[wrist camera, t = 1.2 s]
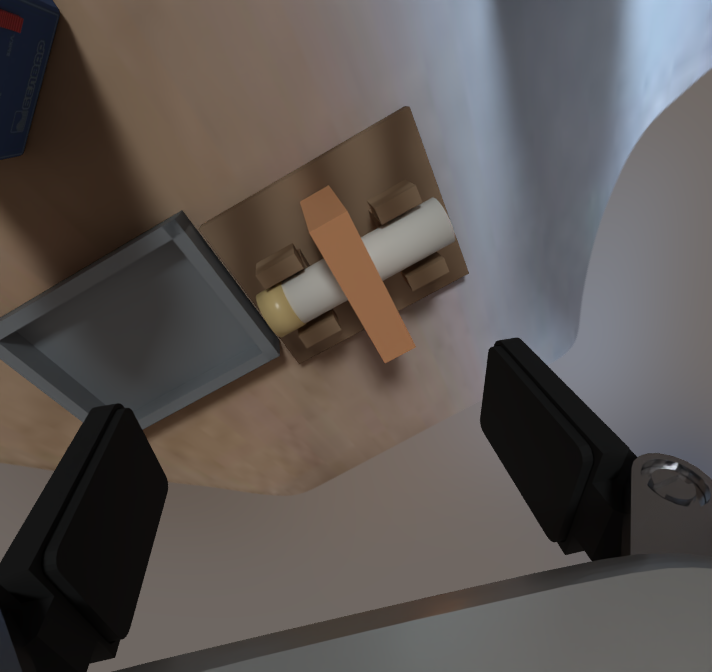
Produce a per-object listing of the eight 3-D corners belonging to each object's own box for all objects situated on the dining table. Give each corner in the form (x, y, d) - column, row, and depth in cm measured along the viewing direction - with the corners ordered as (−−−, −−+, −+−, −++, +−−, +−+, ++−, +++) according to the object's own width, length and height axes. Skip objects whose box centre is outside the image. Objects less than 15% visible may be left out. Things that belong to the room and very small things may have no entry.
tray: (182, 210, 29) (174, 219, 26) (279, 339, 35) (279, 355, 33) (-6, 321, 30) (-28, 338, 28) (122, 425, 37) (113, 445, 35)
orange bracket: (328, 185, 28) (347, 210, 22) (386, 297, 34) (415, 347, 27) (299, 201, 29) (309, 232, 22) (361, 311, 34) (384, 363, 27)
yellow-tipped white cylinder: (425, 193, 28) (443, 200, 25) (442, 236, 30) (461, 248, 27) (257, 287, 29) (254, 305, 26) (283, 324, 31) (283, 345, 28)
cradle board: (404, 106, 28) (431, 106, 23) (463, 268, 35) (493, 294, 30) (201, 224, 29) (187, 248, 25) (298, 356, 37) (302, 394, 32)
